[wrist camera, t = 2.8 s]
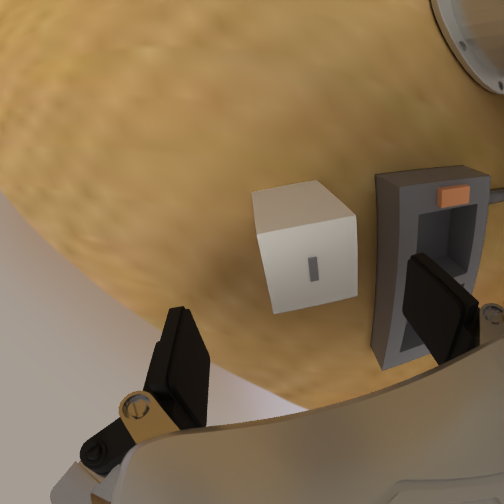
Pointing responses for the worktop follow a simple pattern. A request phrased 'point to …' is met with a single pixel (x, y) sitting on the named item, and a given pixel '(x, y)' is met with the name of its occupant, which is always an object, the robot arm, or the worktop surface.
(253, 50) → the worktop surface
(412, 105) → the worktop surface
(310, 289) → the block
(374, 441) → the robot arm
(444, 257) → the power strip
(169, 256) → the worktop surface
